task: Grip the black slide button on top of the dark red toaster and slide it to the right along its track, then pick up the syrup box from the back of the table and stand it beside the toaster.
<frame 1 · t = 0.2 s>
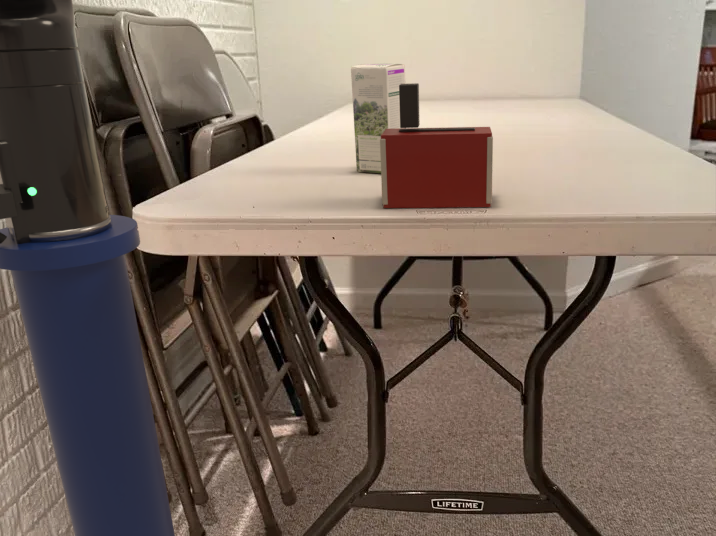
toaster: (437, 201, 83), on the table
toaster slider: (409, 105, 79), point 11 cm above the table, slide at 0.0 cm
syrup box: (382, 171, 104), on the table
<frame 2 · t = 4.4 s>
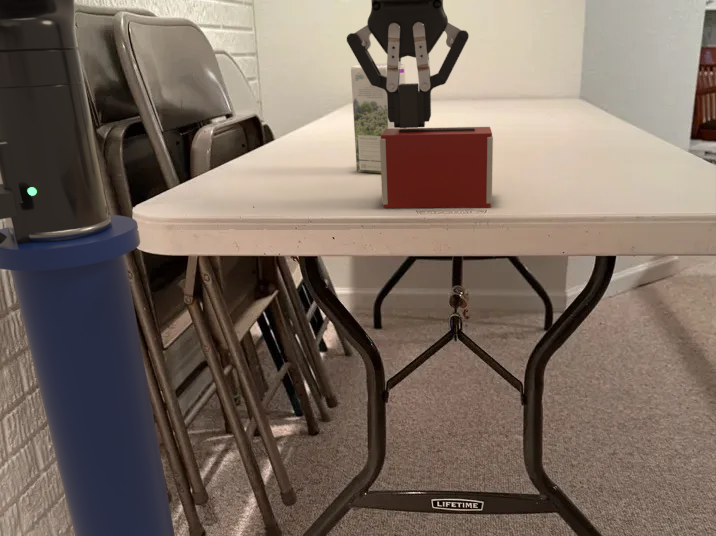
hand: (410, 126, 80), 9 cm above the table, tool pointing down, fingers closed on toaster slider, 2 cm apart
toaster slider: (409, 105, 79), point 11 cm above the table, slide at 0.0 cm, touching gripper
everything else where it was.
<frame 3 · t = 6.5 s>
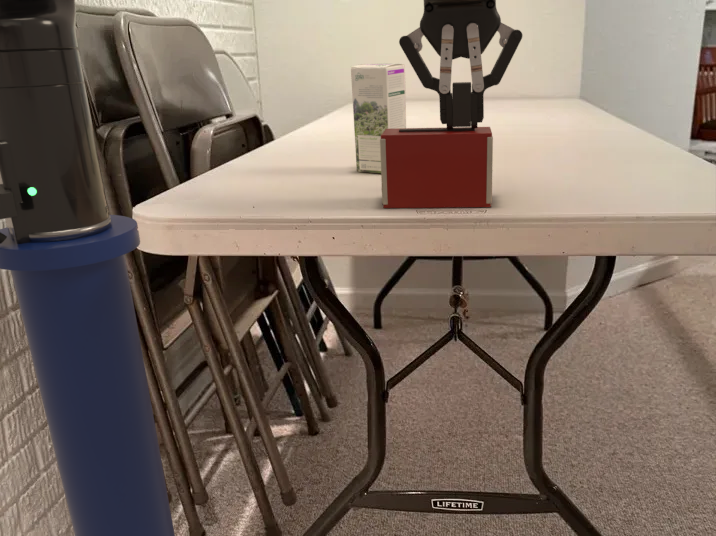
hand: (462, 127, 80), 8 cm above the table, tool pointing down, fingers closed on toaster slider, 2 cm apart
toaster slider: (461, 104, 79), point 11 cm above the table, slide at 5.8 cm, touching gripper
everything else where it was.
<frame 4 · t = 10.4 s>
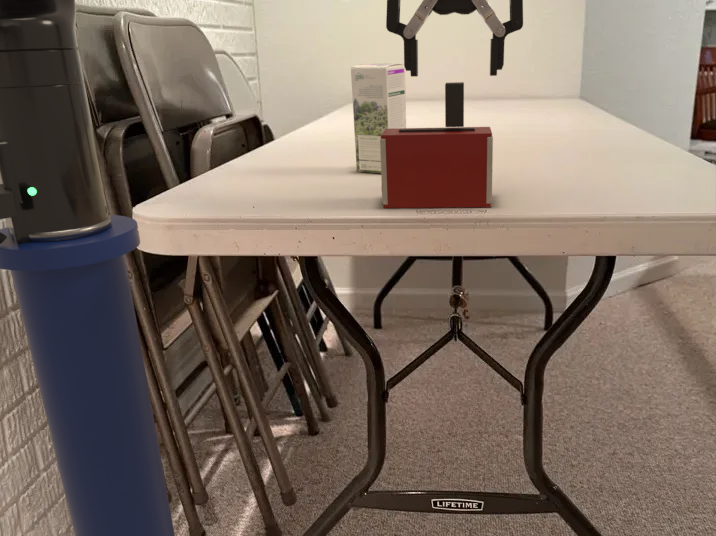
hand: (453, 75, 78), 14 cm above the table, tool pointing down, fingers open, 8 cm apart
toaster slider: (454, 104, 79), point 11 cm above the table, slide at 5.0 cm
everything else where it was.
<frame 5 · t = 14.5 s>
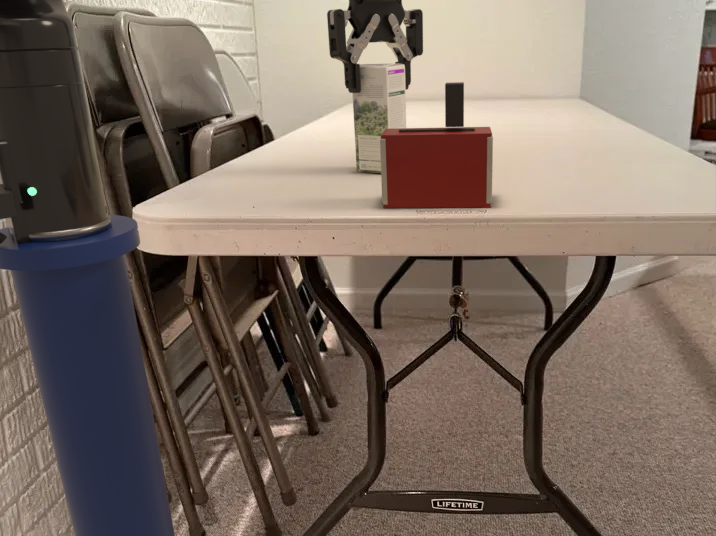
hand: (379, 90, 100), 11 cm above the table, tool pointing down, fingers closed on syrup box, 7 cm apart
syrup box: (382, 171, 104), on the table, touching gripper
everything else where it was.
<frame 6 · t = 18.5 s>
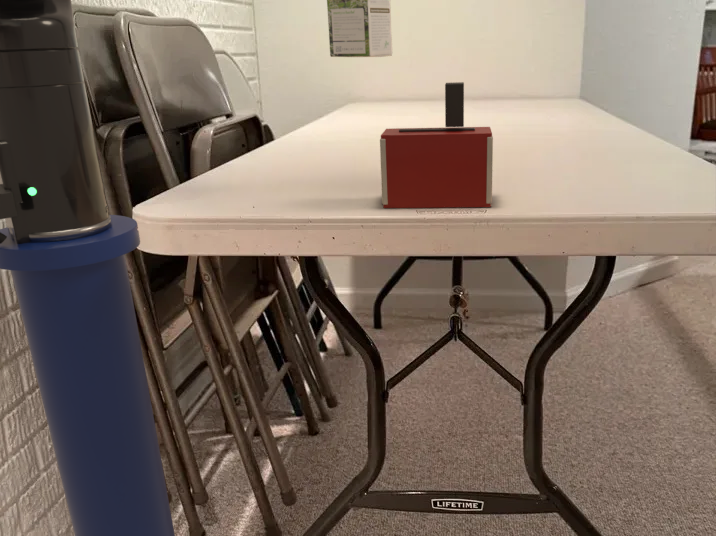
syrup box: (361, 58, 86), point 16 cm above the table, touching gripper
everything else where it was.
when the fingers open (11 cm above the table, at t = 22.7 s): syrup box stays where it is, on the table.
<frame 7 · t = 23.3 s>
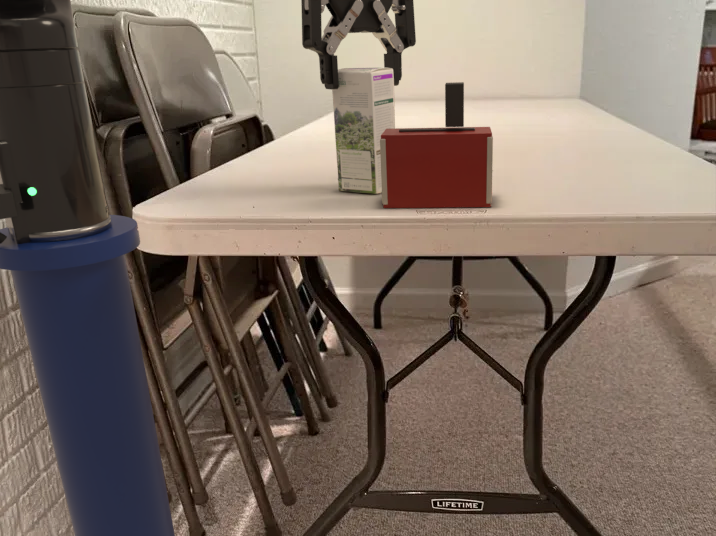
hand: (362, 87, 87), 12 cm above the table, tool pointing down, fingers open, 8 cm apart
syrup box: (368, 190, 91), on the table
everything else where it was.
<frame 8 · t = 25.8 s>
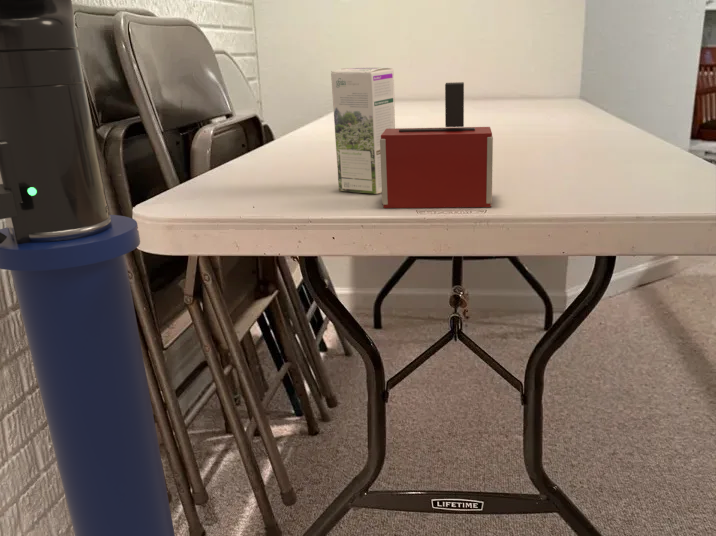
nothing on the table moved.
at the end: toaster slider slide at 5.0 cm; syrup box 0.1 cm from the target spot on the table beside the toaster, on the table; syrup box tilted 0° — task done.
